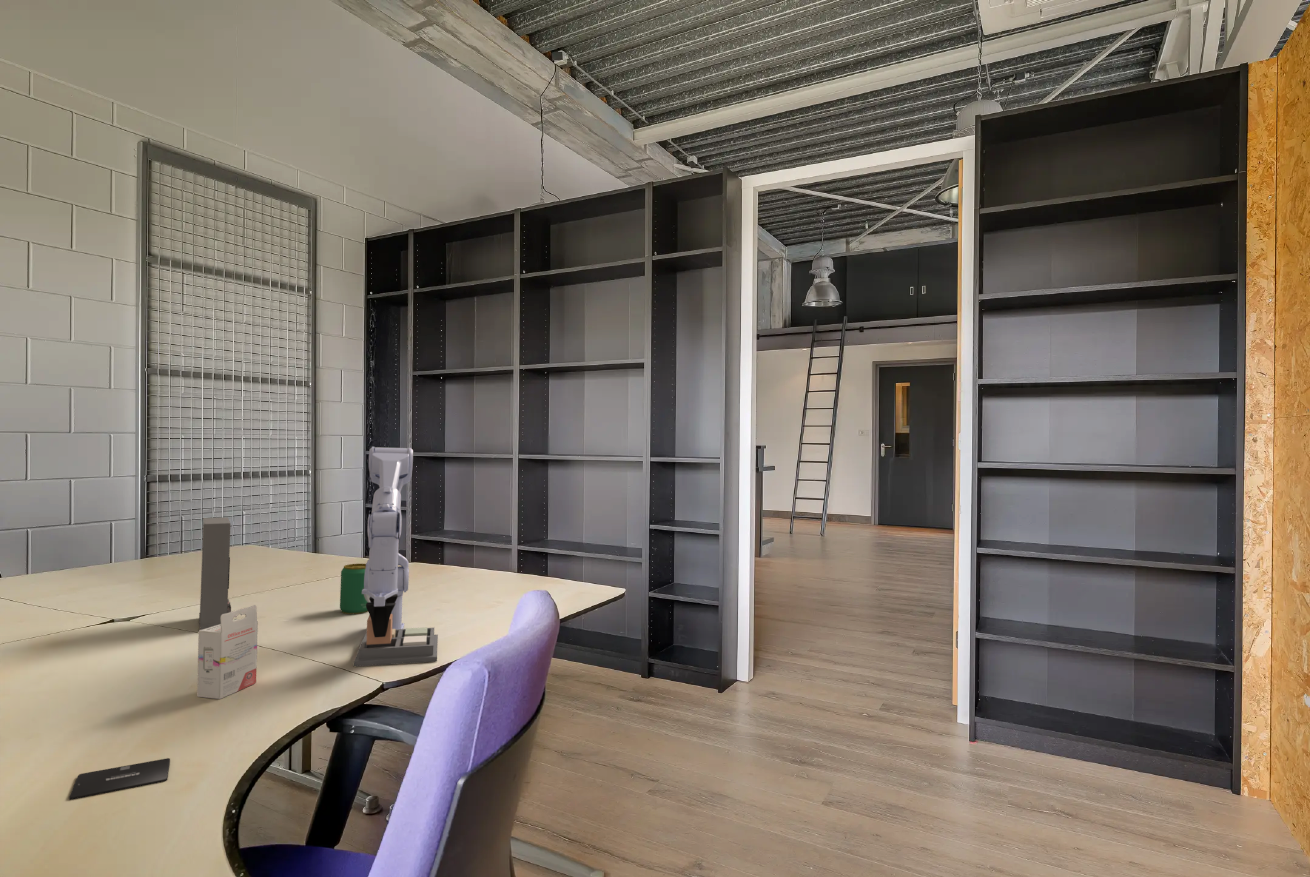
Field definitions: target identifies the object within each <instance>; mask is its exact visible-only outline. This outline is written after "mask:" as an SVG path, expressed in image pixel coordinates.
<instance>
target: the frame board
mask: <svg viewBox="0 0 1310 877" xmlns="http://www.w3.org/2000/svg"><path fill="white" fill-rule="evenodd" d="M438 636H439V634H435V627H409V628H408V627H406V628H403V629H392V639H391V643H387V644H371V645H367V631H365V634H364V637H363V638H362V640H361V643H360V646H359V648H358V651H357V654H356V655H355V658H354V659H353V667H354V666H356V667H368V666H369V667H371V666H384V665H386V666H387V665H388V666H389V665H401V664H402V663H405V664H417V663H418V664H419V663H433V662H434V663H436V662H435V661H438V642H439V637H438Z"/></svg>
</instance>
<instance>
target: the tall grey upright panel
mask: <svg viewBox="0 0 1310 877" xmlns="http://www.w3.org/2000/svg"><path fill="white" fill-rule="evenodd" d="M202 519H203V520H202V522H203V523H202V548H201V549H202V550H201V569H200V570H201V573H200V575H201V577H200V597H199V599H200V601H199V602H200V605H199V614H198V619H199V622H198V623H199V630H203V629H206V628H209V627H213V626H216V625H219V624H221V620H220V617H221V615H222V614H226V613H229V612H232V606H231V601H230V599H229V590H230V573H231V572H230V565H231V556H230V551H231V550H230V549H231V546H230V545H231V527H232V526H231V521H230V520H229V517H203V518H202Z"/></svg>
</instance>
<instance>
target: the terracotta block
mask: <svg viewBox="0 0 1310 877" xmlns="http://www.w3.org/2000/svg"><path fill="white" fill-rule="evenodd" d="M392 617H393V614H391V615H390V618H389V623H388V628H387V633H386V636H385V637H375V636H374V632H373V626H372V621H371V617H370V614H369V615H368V618H367V620H366V632H367V645H371V644H387V643H391V639H392Z"/></svg>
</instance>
